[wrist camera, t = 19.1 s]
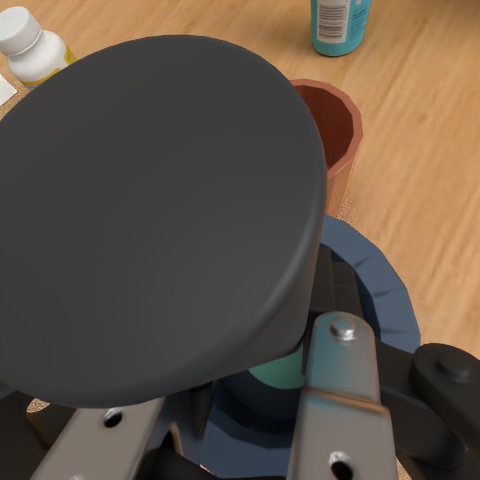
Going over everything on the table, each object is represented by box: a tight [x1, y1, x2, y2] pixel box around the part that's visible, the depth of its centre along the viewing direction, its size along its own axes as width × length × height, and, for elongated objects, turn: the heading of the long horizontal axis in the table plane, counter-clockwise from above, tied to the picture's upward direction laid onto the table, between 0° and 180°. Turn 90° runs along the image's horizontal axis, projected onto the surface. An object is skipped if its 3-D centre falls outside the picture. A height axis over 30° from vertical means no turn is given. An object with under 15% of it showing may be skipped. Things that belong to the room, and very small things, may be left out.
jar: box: [200, 214, 420, 478], centre depth 17 cm, size 11×11×10 cm
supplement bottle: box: [0, 6, 78, 91], centre depth 29 cm, size 5×5×10 cm
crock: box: [289, 79, 363, 218], centre depth 22 cm, size 8×8×8 cm
